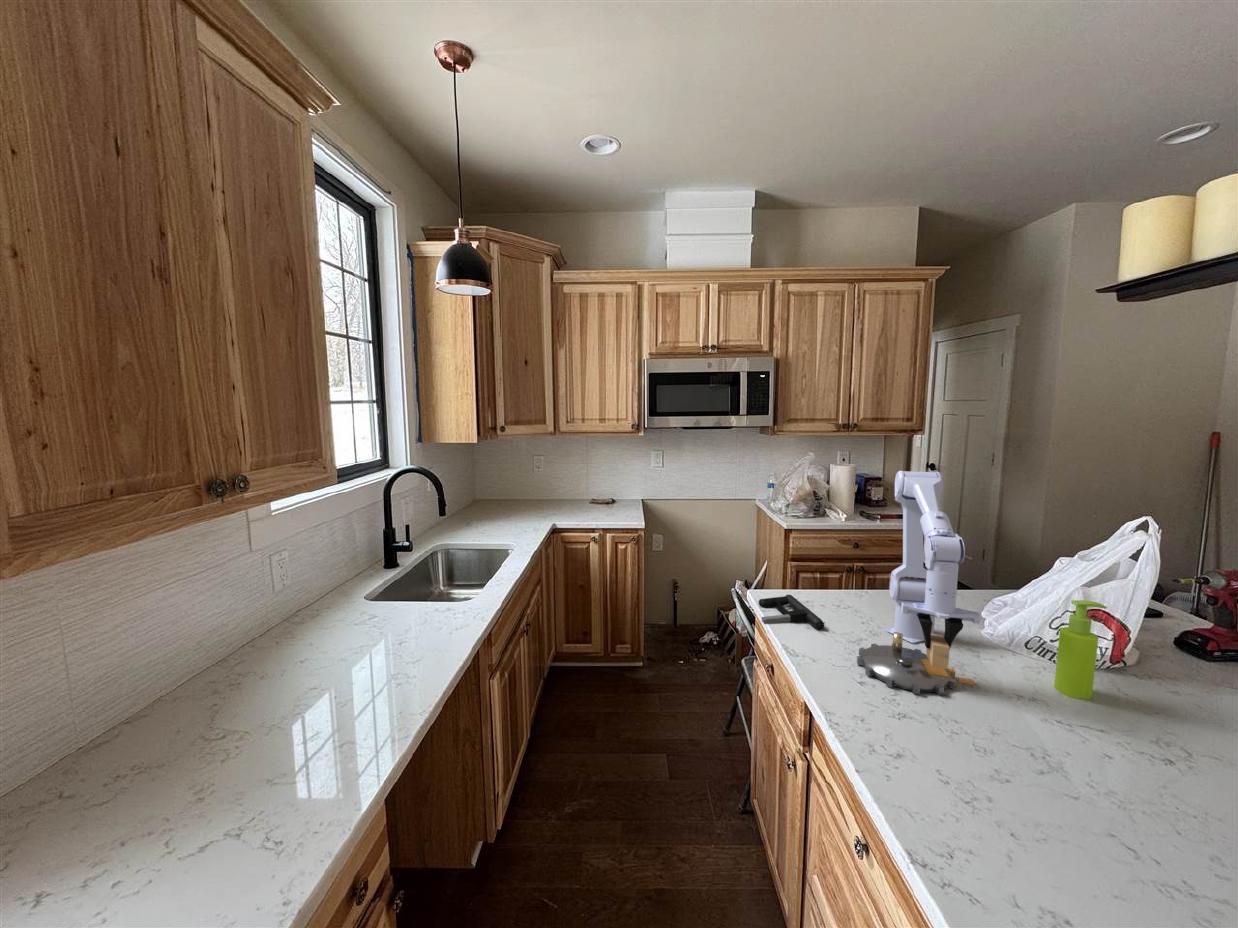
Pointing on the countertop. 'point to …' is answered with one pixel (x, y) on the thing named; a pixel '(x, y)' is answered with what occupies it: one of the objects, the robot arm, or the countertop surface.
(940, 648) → the tan wooden block
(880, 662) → the sprocket
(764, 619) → the submachine gun
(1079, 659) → the soap dispenser
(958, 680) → the timing pointer
